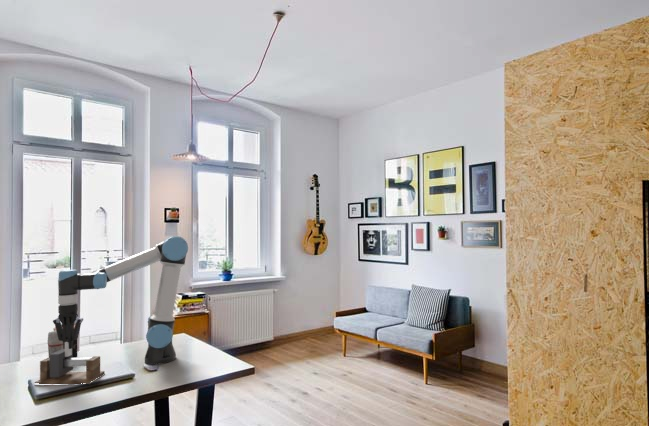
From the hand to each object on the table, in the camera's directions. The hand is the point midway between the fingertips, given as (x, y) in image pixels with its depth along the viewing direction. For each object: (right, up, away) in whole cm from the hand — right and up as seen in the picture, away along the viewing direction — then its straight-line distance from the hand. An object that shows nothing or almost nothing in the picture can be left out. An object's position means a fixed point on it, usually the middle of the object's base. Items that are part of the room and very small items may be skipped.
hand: (68, 355), depth 190 cm
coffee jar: (-18, -13, +27) cm, 35 cm away
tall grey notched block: (-3, -8, 0) cm, 8 cm away
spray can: (-13, -12, +14) cm, 23 cm away
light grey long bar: (+1, -5, 0) cm, 5 cm away
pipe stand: (+1, -11, 0) cm, 11 cm away
